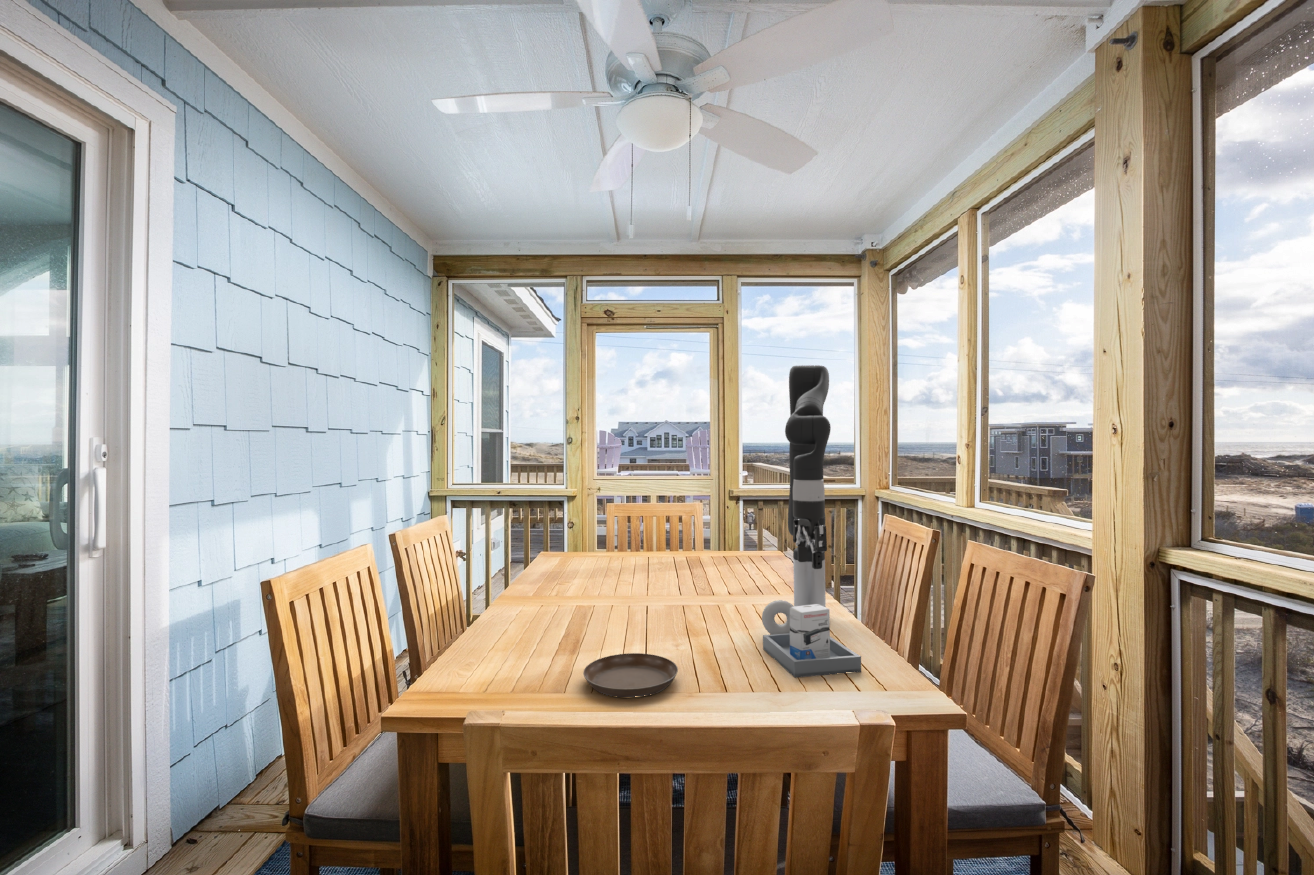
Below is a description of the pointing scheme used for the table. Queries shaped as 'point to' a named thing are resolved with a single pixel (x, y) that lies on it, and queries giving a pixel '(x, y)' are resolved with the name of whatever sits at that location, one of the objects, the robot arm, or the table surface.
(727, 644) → the table surface
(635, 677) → the plant saucer
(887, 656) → the table surface
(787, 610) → the donut
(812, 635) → the ink box
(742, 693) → the table surface
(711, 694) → the table surface
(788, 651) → the tray
